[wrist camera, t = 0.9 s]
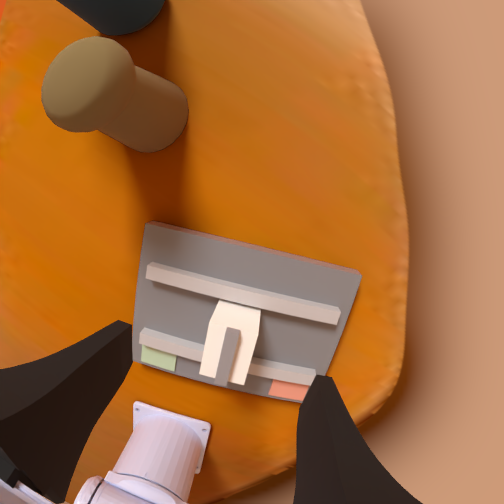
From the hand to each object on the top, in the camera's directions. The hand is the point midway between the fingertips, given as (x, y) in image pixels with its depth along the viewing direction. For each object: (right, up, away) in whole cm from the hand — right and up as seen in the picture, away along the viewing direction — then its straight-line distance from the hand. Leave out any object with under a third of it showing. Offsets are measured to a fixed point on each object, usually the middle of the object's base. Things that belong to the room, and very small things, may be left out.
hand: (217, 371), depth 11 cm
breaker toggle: (0, -1, +11) cm, 12 cm away
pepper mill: (-6, +15, +10) cm, 19 cm away
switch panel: (0, -1, +13) cm, 13 cm away
